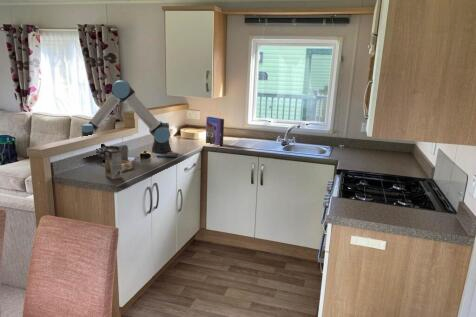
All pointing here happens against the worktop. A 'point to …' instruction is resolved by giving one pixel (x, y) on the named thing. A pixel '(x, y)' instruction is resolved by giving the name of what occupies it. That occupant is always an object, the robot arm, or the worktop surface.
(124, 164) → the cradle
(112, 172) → the coffee box
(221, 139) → the cereal box
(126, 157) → the battery cell
